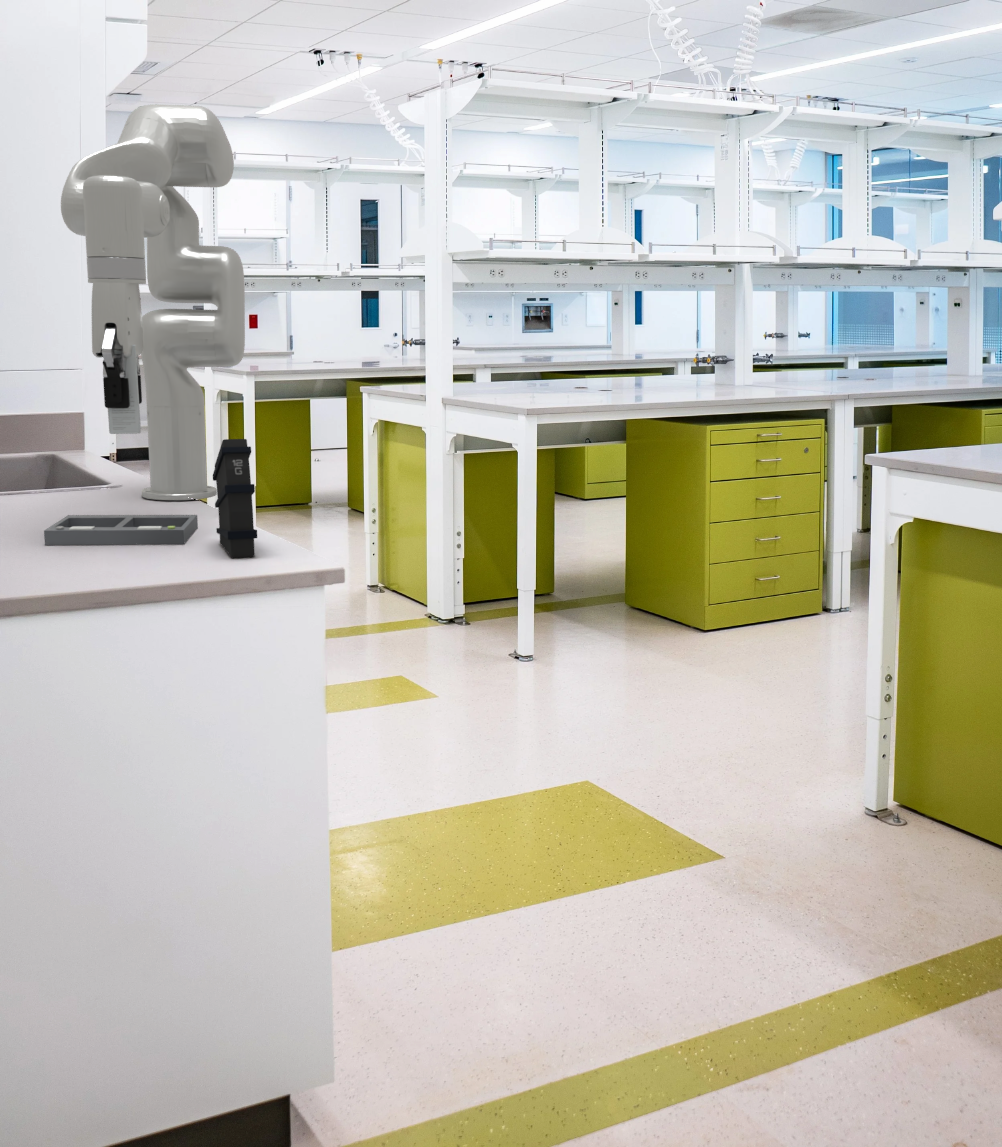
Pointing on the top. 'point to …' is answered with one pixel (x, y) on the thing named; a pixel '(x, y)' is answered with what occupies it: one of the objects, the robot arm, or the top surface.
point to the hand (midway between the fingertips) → (123, 404)
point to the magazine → (235, 498)
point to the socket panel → (121, 530)
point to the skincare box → (130, 417)
